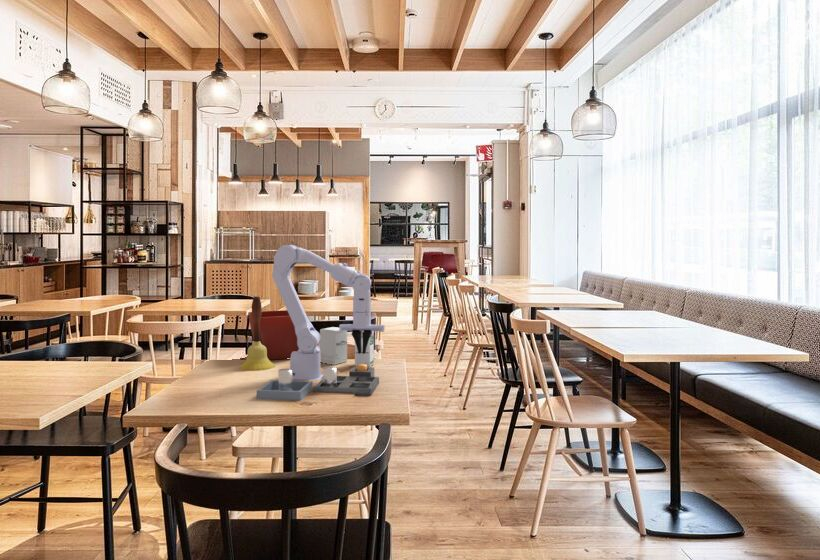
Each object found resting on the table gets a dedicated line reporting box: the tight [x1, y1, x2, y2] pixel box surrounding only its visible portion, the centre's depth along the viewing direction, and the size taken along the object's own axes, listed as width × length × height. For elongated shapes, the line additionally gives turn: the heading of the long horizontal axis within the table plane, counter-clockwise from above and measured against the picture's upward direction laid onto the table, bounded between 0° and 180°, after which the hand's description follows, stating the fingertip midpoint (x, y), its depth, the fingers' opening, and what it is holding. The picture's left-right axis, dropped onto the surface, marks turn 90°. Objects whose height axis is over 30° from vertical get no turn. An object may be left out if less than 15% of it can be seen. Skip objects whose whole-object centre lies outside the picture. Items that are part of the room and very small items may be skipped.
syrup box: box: [354, 331, 375, 367], centre depth 218 cm, size 6×6×14 cm
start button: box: [356, 364, 367, 371], centre depth 197 cm, size 3×3×3 cm
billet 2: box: [322, 366, 338, 387], centre depth 181 cm, size 4×4×7 cm
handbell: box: [239, 296, 276, 372], centre depth 213 cm, size 12×12×25 cm
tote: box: [256, 379, 314, 402], centre depth 175 cm, size 13×13×3 cm
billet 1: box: [277, 368, 294, 391], centre depth 175 cm, size 4×4×7 cm
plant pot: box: [247, 309, 299, 361], centre depth 232 cm, size 19×19×17 cm
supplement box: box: [319, 326, 348, 366], centre depth 222 cm, size 7×7×13 cm
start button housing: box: [348, 366, 375, 377], centre depth 197 cm, size 7×7×3 cm
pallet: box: [313, 375, 380, 396], centre depth 184 cm, size 17×15×2 cm
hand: (362, 353), depth 197 cm, fingers closed
